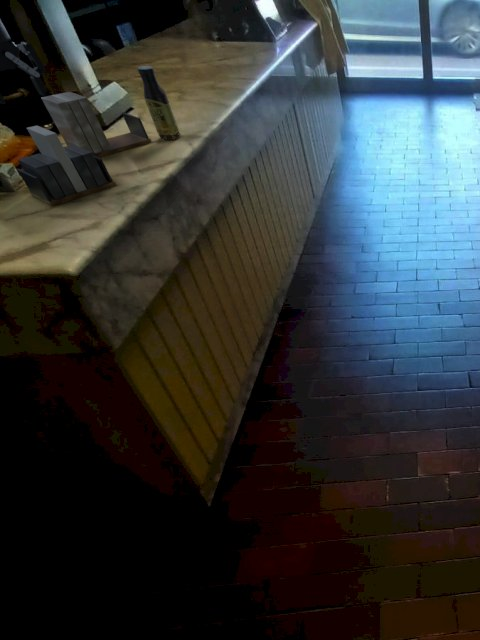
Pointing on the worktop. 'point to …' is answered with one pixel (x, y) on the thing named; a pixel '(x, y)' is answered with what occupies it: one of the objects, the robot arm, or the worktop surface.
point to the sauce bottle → (158, 105)
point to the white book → (56, 154)
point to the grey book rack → (63, 176)
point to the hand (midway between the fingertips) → (23, 98)
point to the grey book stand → (90, 125)
